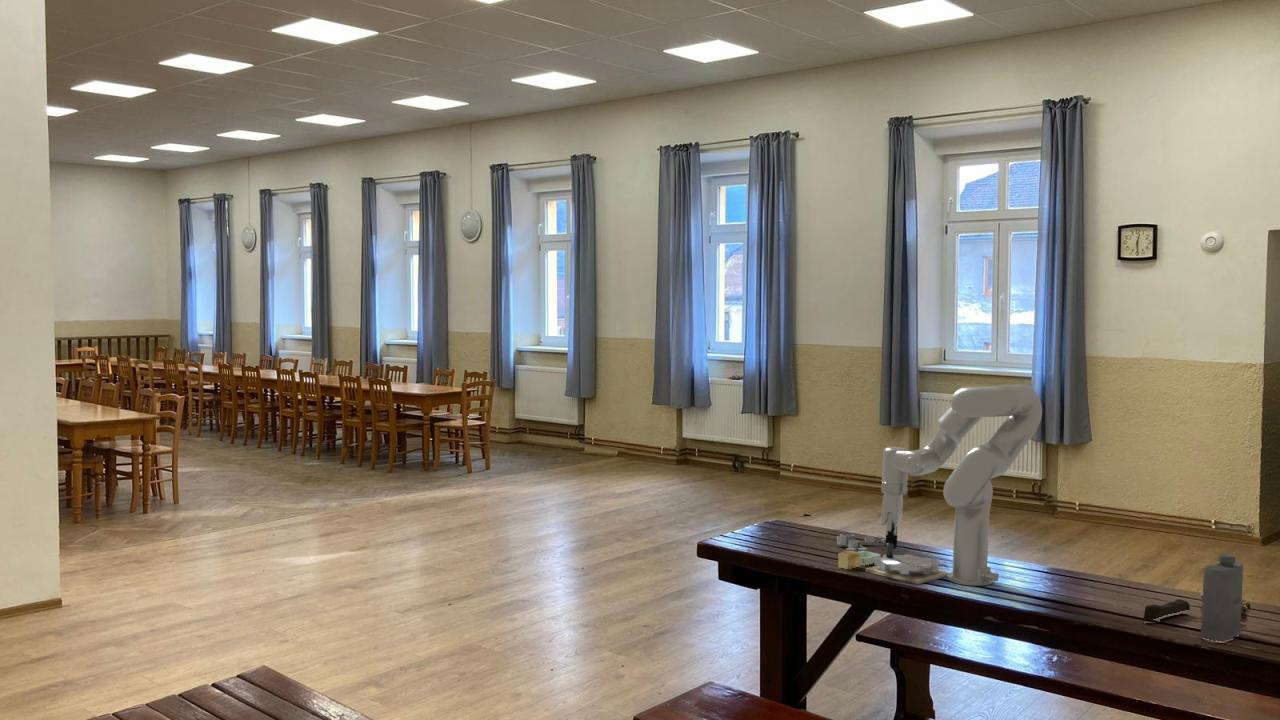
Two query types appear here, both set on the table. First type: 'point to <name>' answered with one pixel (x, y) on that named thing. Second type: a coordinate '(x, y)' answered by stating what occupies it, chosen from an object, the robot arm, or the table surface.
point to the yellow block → (848, 559)
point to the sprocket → (905, 563)
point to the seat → (868, 557)
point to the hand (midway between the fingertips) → (891, 547)
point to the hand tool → (1165, 609)
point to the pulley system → (853, 544)
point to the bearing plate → (908, 575)
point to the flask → (1222, 599)
